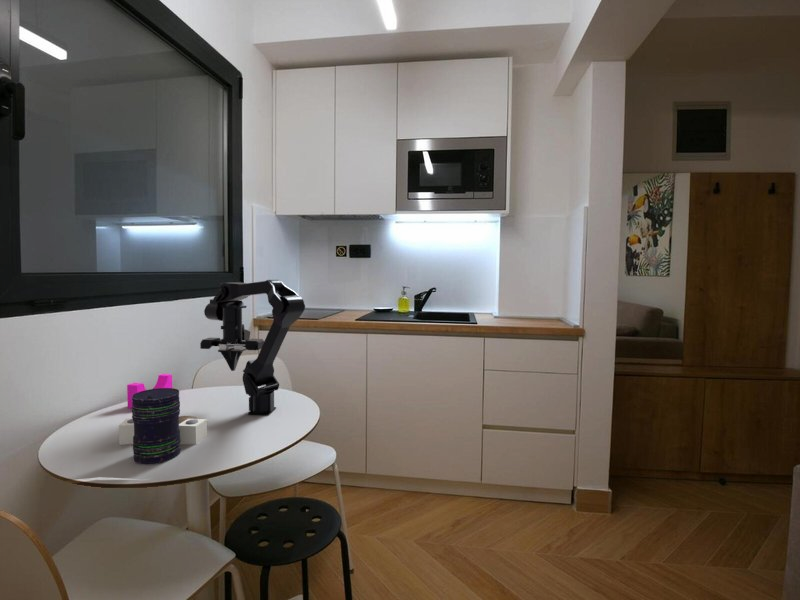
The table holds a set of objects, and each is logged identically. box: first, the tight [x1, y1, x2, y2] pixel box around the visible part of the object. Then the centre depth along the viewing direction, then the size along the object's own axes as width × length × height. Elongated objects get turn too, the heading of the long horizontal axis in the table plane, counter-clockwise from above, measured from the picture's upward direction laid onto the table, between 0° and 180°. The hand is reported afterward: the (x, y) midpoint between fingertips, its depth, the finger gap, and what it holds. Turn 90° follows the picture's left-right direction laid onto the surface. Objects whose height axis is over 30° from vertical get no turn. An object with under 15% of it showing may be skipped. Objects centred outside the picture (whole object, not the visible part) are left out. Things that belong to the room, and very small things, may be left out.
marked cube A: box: [179, 418, 208, 445], centre depth 109 cm, size 5×5×5 cm
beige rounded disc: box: [179, 415, 197, 424], centre depth 116 cm, size 8×8×3 cm
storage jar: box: [131, 387, 181, 466], centre depth 100 cm, size 10×10×15 cm
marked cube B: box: [118, 417, 134, 446], centre depth 109 cm, size 5×5×5 cm
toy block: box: [126, 373, 173, 409], centre depth 142 cm, size 15×6×8 cm, turn 168°
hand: (233, 370), depth 136 cm, fingers closed
